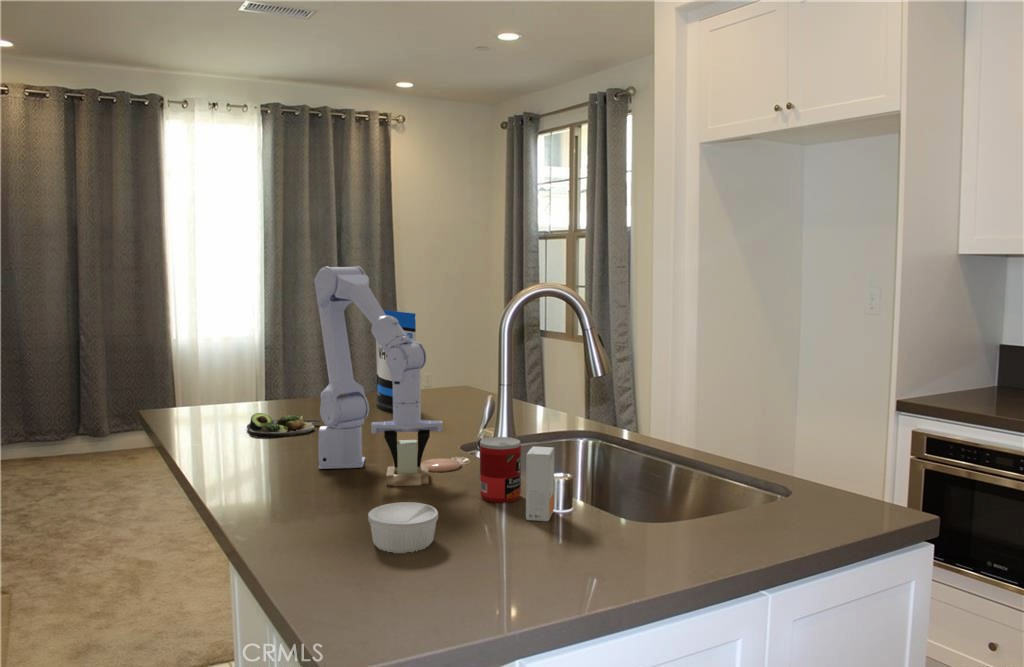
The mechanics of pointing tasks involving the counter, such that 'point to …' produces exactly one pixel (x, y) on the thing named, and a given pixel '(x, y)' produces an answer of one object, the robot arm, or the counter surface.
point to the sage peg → (407, 456)
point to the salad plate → (278, 425)
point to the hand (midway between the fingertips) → (407, 466)
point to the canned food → (500, 469)
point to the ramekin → (403, 526)
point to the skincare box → (539, 483)
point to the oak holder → (407, 477)
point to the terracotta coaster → (441, 465)
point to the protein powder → (383, 371)
